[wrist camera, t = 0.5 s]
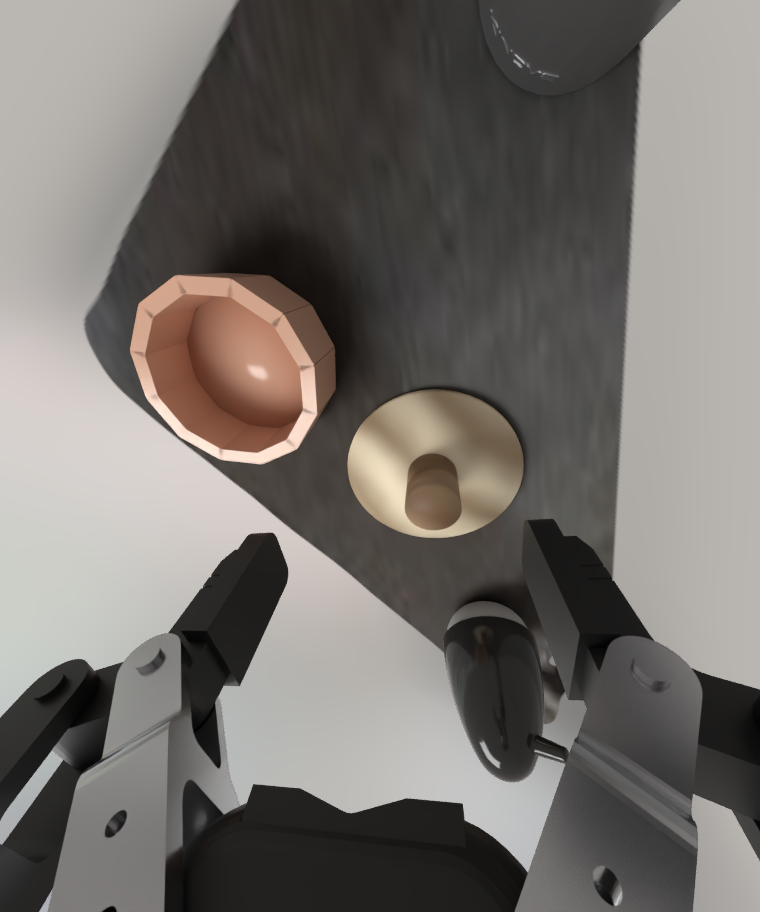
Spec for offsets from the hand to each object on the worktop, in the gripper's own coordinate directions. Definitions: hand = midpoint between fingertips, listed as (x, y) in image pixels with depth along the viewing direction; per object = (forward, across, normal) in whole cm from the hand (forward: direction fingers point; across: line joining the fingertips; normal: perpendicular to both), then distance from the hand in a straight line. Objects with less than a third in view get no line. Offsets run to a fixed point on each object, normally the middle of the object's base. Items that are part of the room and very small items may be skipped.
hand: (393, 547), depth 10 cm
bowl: (+19, +12, -4) cm, 23 cm away
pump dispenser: (+20, -6, +30) cm, 37 cm away
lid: (+19, -1, +8) cm, 21 cm away
